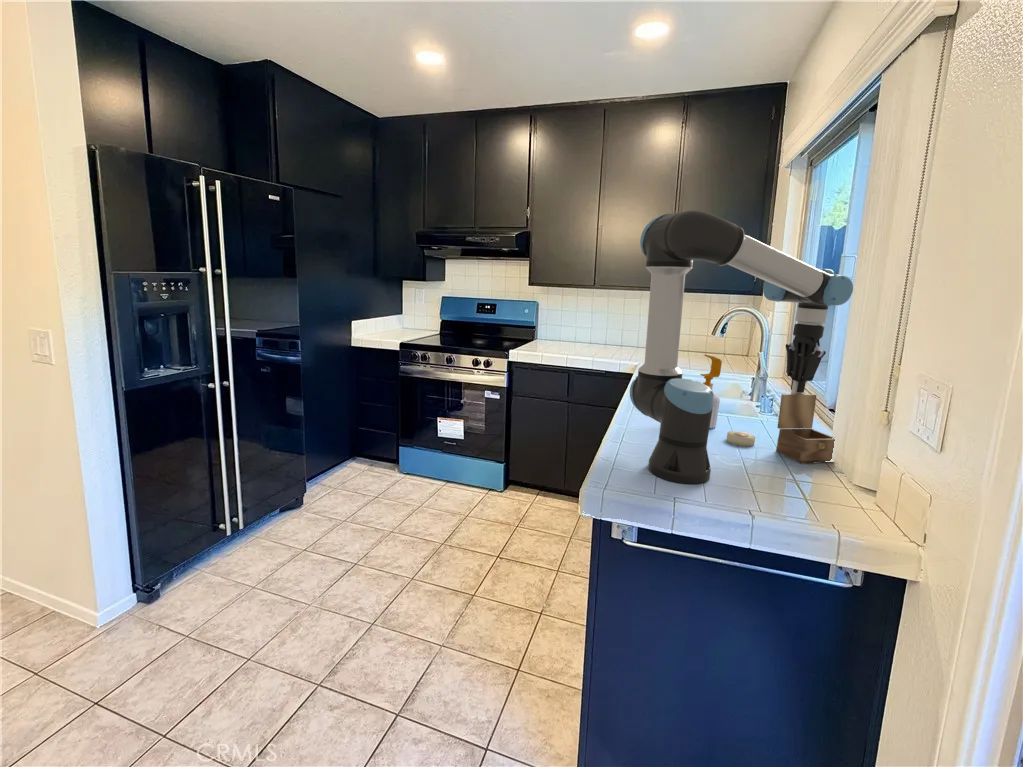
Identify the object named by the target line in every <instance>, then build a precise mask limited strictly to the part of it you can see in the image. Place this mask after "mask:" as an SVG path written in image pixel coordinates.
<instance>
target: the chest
mask: <svg viewBox="0 0 1023 767" xmlns="http://www.w3.org/2000/svg"><path fill="white" fill-rule="evenodd" d="M833 437H834V436H831V435H829V434H826V433H824V432H821V431H818V430H817V429H815V428H814V429H813V428H786V429H779V431H778V437H777V443H776V449H775V452H777V453H778V454H781V455H783V456H785V457H786V458H789V459H791V460H793V461H795V462H797V463H799V464H803V463H806V464H815V463H814V462H825V461H830V460H831V459H832V453H833V448H834V441H835V439H834V438H835V437H834V438H833ZM832 438H833V439H832Z"/></svg>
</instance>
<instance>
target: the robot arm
mask: <svg viewBox="0 0 1023 767" xmlns="http://www.w3.org/2000/svg"><path fill="white" fill-rule="evenodd" d="M639 242H640V243H639V245H640V249H641V252H642V253H643V255H644V256H645V258H646V263H645V269H646V270H647V271H648V272H649V273H650V278H651V279H650V288H649V290H650V291H649V299H648V300H649V303H648V312H647V314H648V315H647V325H646V326H647V327H646V328H647V329H646V340H645V353H644V354H645V356H644V363H643V364H642V365H641V366H639V368H638V372H637V376H636V377H635V379H634V380H632V382H631V384H630V387H629V398H630V401H631V403H632V405H633V406H634V408H636V409H637V411H638V412H639V413H641V414H643V415H644V416H646V417H649V418H651V419H652V420H654V421H656V422H658V423H660V424H659V426H660V427H659V433H658V439H657V440H658V441H657V442H656V444H655V446H654V448H653V451H652V452H651V455H650V457H649V458H648V463H647V464H648V465H647V469H648V470H650V471H649V472H650V473H651V474H653V475H655V476H656V477H659V478H661V479H663V480H666V481H668V482H673V483H680V484H688V485H691V484H692V485H695V484H696V485H697V484H702V483H706V482H708V481H709V480H710V477H711V472H712V471H711V470H712V469H711V463H710V459H709V454H708V448H707V446H708V440H709V439H708V438H709V434H710V429H709V428H710V421H711V415H712V409H713V405H714V404H713V392H714V391H712V390H713V389H712V390H711V389H710V388H709V387H708V386H706V385H705V384H703V382H701V381H697V380H692V379H689V378H683V370H682V369H681V368H680V366H678V362H679V361H678V360H679V350H680V338H681V328H682V315H683V305H684V294H685V293H684V292H685V283H686V275H687V274H688V273H689V272H690V271H691V270H693V264H694V261H702V262H703V261H704V262H708V263H712V264H715V265H717V266H719V267H722V266H726V265H728V266H730V267H733V268H735V269H738V270H740V271H742V272H744V273H747V274H749V275H751V276H754V277H756V278H758V279H760V280H762V281H764V282H763V286H762V293H763V296H764V297H765V298H766V299H767V301H770V302H771V301H772V302H778V303H779V302H780V303H781V302H788V303H798V304H797V310H796V315H795V322H796V323H795V324H794V326H793V330H792V335H793V336H794V338H793V340H792V342H791V343H786V344H785V349H786V350H785V351H786V374H787V375H786V376H787V377H790V378H791V384H790V390H791V391H790V394H795V393H802V394H803V393H804V392H805V389H806V383H807V382H812V381H813V380H814V377H815V375H816V373H817V370H818V368H819V366H820V363H821V362H822V361H821V360H822V359H823V357H825V355H826V352H827V351H826V350H824V349H823V350H822V348H820V347H821V343H820V339H822V338H823V335H824V331H825V326H824V325H823V324H826V320H827V315H828V308H829V307H830V306H841V305H843V304H846V303H847V302H848V301H849V300H850V299H851V297H852V294H853V292H854V291H853V290H854V284H853V281H852V279H851V278H850V277H848V276H846V275H843V274H835V272H834V271H833V269H829V268H816V267H814V266H812V265H810V264H807V263H806V262H804V261H801V260H799V259H797V258H795V257H793V256H791V255H790V254H787V253H784V252H783V251H780V250H778V249H776V248H774V247H772V246H770V245H767V244H766V243H763V242H761V240H757V239H755V238H753V237H751V236H750V235H746V234H745V231H744V228H742V227H741V226H739V225H737V224H735V223H733V222H731V221H729V220H726V219H725V218H722V217H720V216H717V215H715V214H713V213H710V212H708V211H707V212H706V211H704V210H699V209H689V210H684V211H678V212H673V213H666V214H665V213H664V214H663V215H659V216H657V217H655V218H653V219H652V220H650V221H649V222H648V223H647V224H646V225H645V227H644V228H643V231H642V232H641V235H640V240H639Z"/></svg>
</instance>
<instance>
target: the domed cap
mask: <svg viewBox="0 0 1023 767" xmlns="http://www.w3.org/2000/svg"><path fill="white" fill-rule="evenodd" d="M755 441H756V436H755V435H754V434H752V433H750V432H745V431H740V430H739V431H738V430H729V431H727V434H726V442H728V443H729V444H731V445H734V446H739V447H746V448H747V447H750V448H751V447H753V446H755V443H756V442H755Z"/></svg>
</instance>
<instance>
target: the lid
mask: <svg viewBox="0 0 1023 767" xmlns="http://www.w3.org/2000/svg"><path fill="white" fill-rule="evenodd" d="M816 401H817V394H813V393H812V394H811V393H810V394H809V393H808V394H805V393H803V392H802V393H795V394H791V393H789V394H788V393H787V394H786V393H783V394H781V396H780V405H779V413H778V420H777V429H779V430H780V429H813V423H814V418H815V410H816Z"/></svg>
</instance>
